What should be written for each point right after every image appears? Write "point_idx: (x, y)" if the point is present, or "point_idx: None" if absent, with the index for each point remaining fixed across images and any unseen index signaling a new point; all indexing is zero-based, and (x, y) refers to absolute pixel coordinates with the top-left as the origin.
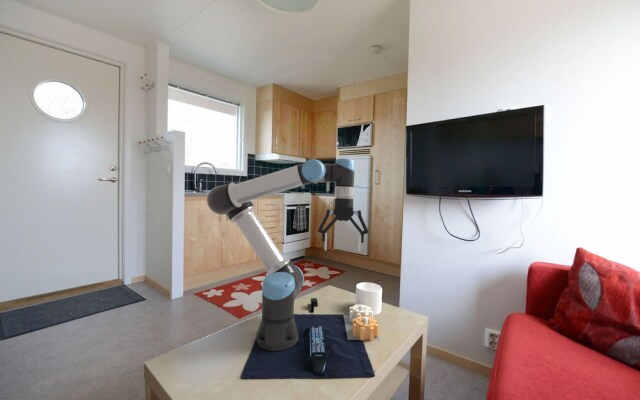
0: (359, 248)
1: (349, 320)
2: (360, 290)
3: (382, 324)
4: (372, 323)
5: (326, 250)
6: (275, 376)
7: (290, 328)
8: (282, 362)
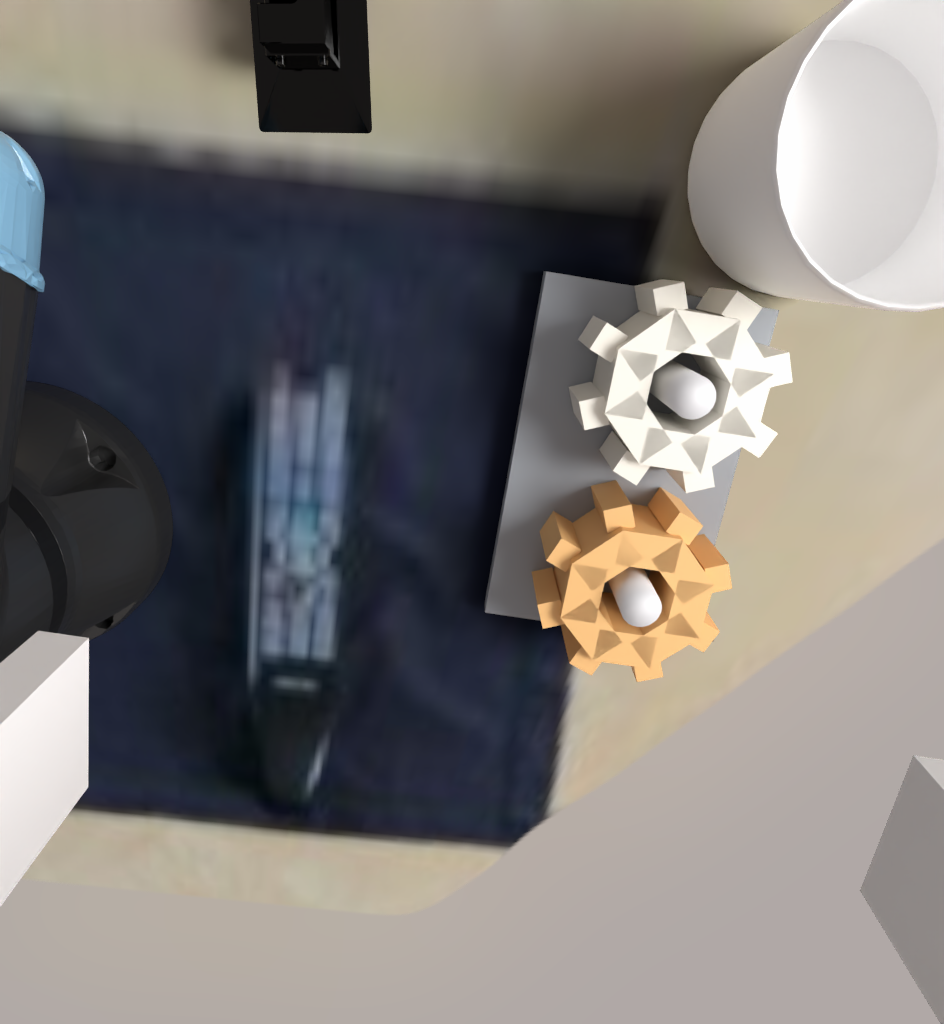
0: (912, 950)
1: (569, 373)
2: (782, 232)
3: (819, 402)
4: (673, 640)
5: (85, 788)
6: (86, 800)
7: (80, 629)
8: (105, 717)
